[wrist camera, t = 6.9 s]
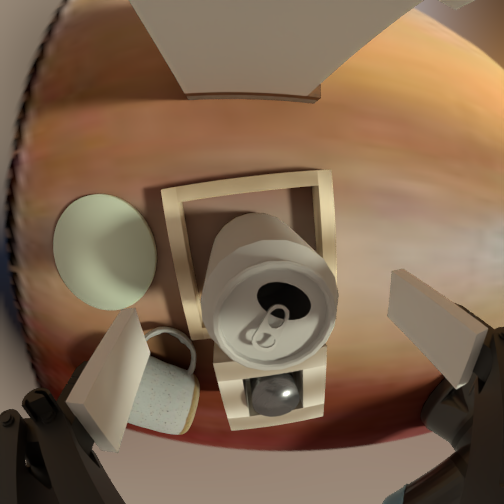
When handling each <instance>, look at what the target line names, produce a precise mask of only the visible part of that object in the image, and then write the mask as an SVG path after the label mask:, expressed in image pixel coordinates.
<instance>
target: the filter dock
mask: <svg viewBox="0 0 504 504" xmlns="http://www.w3.org/2000/svg"><path fill="white" fill-rule="evenodd" d="M305 186H312V196H313V208H314V222H315V238H316V252H317V253H318V254H319V255H320V256H321V257H322V258H323V259H324V260H325V262H326V263H327V265H328V266H329V268H330V270H331V271H332V273H333V274H334V276H335V280H336V285H337V263H336V231H335V211H334V196H333V183H332V171H331V169H328V170H309V171H296V172H285V173H274V174H264V175H255V176H246V177H238V178H230V179H223V180H215V181H208V182H202V183H195V184H189V185H183V186H177V187H171V188H165V189H161V195H162V201H163V208H164V214H165V220H166V226H167V231H168V237H169V242H170V248H171V253H172V258H173V263H174V268H175V273H176V277H177V282H178V287H179V291H180V295H181V300H182V304H183V308H184V312H185V317H186V321H187V325H188V329H189V333H190V336H191V340H201V339H211V337H210V335H209V333H208V331H207V329H206V327H205V325H204V323H203V320H202V311H201V303H200V298H199V293H198V288H197V283H196V278H195V273H194V268H193V262H192V257H191V251H190V246H189V240H188V234H187V228H186V222H185V215H184V209H183V202H184V201H190V200H196V199H203V198H210V197H217V196H225V195H232V194H240V193H248V192H256V191H265V190H274V189H284V188H294V187H305ZM335 320H336V319H335ZM326 359H327V345H326V344H324V345H323V346H322V347H321V348H320V349H319V350H318V351H317V352H316V353H315V354H314V355H313V356H311V357H310V358H308V359H306V360H305V361H303V362H302V363H300V364H298V365H295V366H291V367H288V368H285V369H282V370H267V371H263V370H258V369H253V368H248V367H245V366H243V365H241V364H239V363H237V362H235V361H233V360H232V359H230V358H229V357H228V356H227V355H226V354H225V353H224V352H223V351H222V350H221V349H220V348H219V346H218V344H217V343H216V342H214V356H213V365H214V369H215V373H216V377H217V381H218V385H219V388H220V392H221V396H222V400H223V403H224V407H225V410H226V414H227V417H228V421H229V424H230V428H231V431H232V430H243V429H252V428H260V427H267V426H274V425H280V424H286V423H292V422H297V421H302V420H307V419H312V418H317V417H321V416H323V411H324V397H325V381H326ZM288 372H292V374H293V377H294V380H295V383H296V387H297V390H298V393H299V396H300V400H299V403H298V405H297V406H296V408H295V409H293V410H292V411H291V412H289V413H287V414H284V415H281V416H276V417H268V416H263V415H261V414H259V413H257V412H256V411H255V410H254V408H253V405H252V396H251V387H250V378H255V377H262V376H269V375H276V374H282V373H288Z"/></svg>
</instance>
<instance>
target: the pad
mask: <svg viewBox="0 0 504 504" xmlns="http://www.w3.org/2000/svg"><path fill="white" fill-rule="evenodd" d="M53 251H54V258H55V263H56V266H57V269H58V271H59V274H60V276H61V278H62V279H63V281H64V283H65V284H66V286H67V287H68V288H69V289H70V291H71V292H72V293H73V294H74V295H75V296H77V297H78V298H79V299H80V300H82V301H83V302H85V303H86V304H88V305H90V306H93V307H95V308H99V309H103V310H119V309H123V308H126V307H129V306H131V305H133V304H134V303H135V302H137V301H138V300H139V299H140V298H141V297H142V296H143V295H144V294H145V292H146V291H147V289H148V288H149V286H150V284H151V283H152V280H153V278H154V275H155V271H156V265H157V250H156V244H155V240H154V236H153V234H152V231H151V229H150V227H149V225H148V223H147V222H146V220H145V219H144V217H143V216H142V215H141V214H140V212H139V211H138V210H137V209H136V208H135V207H133V206H132V205H131V204H130V203H128V202H127V201H125V200H123V199H121V198H119V197H117V196H113V195H109V194H94V195H88V196H85V197H82V198H80V199H78V200H76V201H74V202H73V203H72V204H70V205H69V206H68V207H67V208H66V209H65V211H64V212H63V214H62V215H61V217H60V219H59V220H58V223H57V225H56V228H55V233H54V239H53Z"/></svg>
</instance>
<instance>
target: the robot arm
mask: <svg viewBox="0 0 504 504" xmlns="http://www.w3.org/2000/svg"><path fill="white" fill-rule="evenodd" d="M387 316H388V317H389V318H390V319H391V320H392V321H393V322H394V323H395V325H396V326H397V327H398V328H399V329H400V330H401V331H402V332H403V333H404V334H405V335H406V336H407V337H408V338H409V339H410V340H411V341H412V342H413V343H414V344H415V345H416V346H417V347H418V348H419V349H420V351H421V352H422V353H423V354H424V355H425V356H426V357H427V358H428V359H429V360H430V361H431V362H432V363H433V364H434V366H435V367H436V368H437V369H438V370H439V371H440V372H441V373H442V374H443V375H444V377H445V379H444V380H443V381H442V382H441V383H440V384H439V385H438V386H437V387H436V389H435V390H434V391H433V392H432V394H431V395H430V396H429V398H428V399H427V401H426V403H425V405H424V406H423V409H422V412H421V420H422V422H423V423H424V425H425V426H426V428H427V429H429V430H431V431H433V432H434V433H436V434H438V435H439V436H440V437H442V438H443V439H445V440H446V441H448V442H449V443H450V444H451V445H452V447H453V448H454V450H455V451H456V452H455V453H453V454H452V455H451V456H450V457H448V458H447V459H445V460H444V461H443V462H441V463H440V464H439V465H437V466H436V467H434V468H433V469H431V470H430V471H429V472H427V473H426V474H424V475H422V476H421V477H420V478H418V479H416V480H415V481H413V482H411V483H410V484H406V485H404V487H403V488H401V489H399V490H398V491H396V492H394V493H393V494H391V495H389V496H388V497H387V498H386V499H385V500H384V501H383V503H382V504H504V327H499V328H496V329H493V328H492V327H491V326H489V325H488V324H487V323H485V322H484V321H483V320H481V319H480V318H479V317H477V316H475V315H474V314H473V313H472V312H470V311H469V310H467V309H466V308H465V307H463V306H461V305H459V304H456V303H453V302H452V301H450V300H449V299H447V298H446V297H445V296H443V295H442V294H440V293H439V292H437V291H436V290H434V289H433V288H432V287H430V286H429V285H427V284H426V283H424V282H423V281H421V280H420V279H418V278H417V277H415V276H414V275H412V274H410V273H409V272H407V271H406V270H404V269H399V270H394V271H392V274H391V287H390V297H389V307H388V315H387ZM149 355H150V351H149V348H148V345H147V342H146V339H145V337H144V334H143V331H142V328H141V325H140V322H139V318H138V315H137V312H136V309H135V308H130V309H122V310H121V311H120V313H119V314H118V316H117V317H116V319H115V320H114V322H113V323H112V325H111V326H110V328H109V329H108V331H107V332H106V334H105V336H104V337H103V339H102V340H101V342H100V344H99V345H98V347H97V348H96V350H95V352H94V353H93V355H92V357H91V358H90V360H89V361H84V362H83V363H82V364H81V365H79V366H78V367H77V368H76V369H75V371H74V373H73V374H72V376H71V377H72V378H70V379H69V381H68V382H67V383H68V384H66V386H65V388H64V389H63V391H62V393H61V394H60V396H59V398H58V400H57V401H55V399H54V397H53V396H52V394H51V393H50V391H49V390H48V389H46V388H37V389H34V390H32V391H31V392H29V393H28V394H27V395H26V396H25V397H24V399H23V401H22V407H23V408H24V409H25V410H26V412H27V414H28V415H29V416H30V418H25V419H23V418H22V417H21V415H20V414H19V413H18V411H16V410H14V409H9V410H6V411H4V412H2V413H1V415H0V504H125V502H124V501H123V499H122V498H121V496H120V495H119V493H118V491H117V490H116V488H115V487H114V485H113V484H112V482H111V480H110V479H109V477H108V475H107V473H106V472H105V470H104V468H103V466H102V465H101V463H100V461H99V459H98V457H97V455H96V454H95V453H94V451H93V450H92V446H93V444H94V442H95V443H96V445H97V446H98V447H99V448H100V449H101V450H102V451H109V452H116V453H118V452H119V449H120V445H121V442H122V438H123V434H124V431H125V428H126V425H127V421H128V418H129V415H130V412H131V409H132V405H133V402H134V399H135V396H136V393H137V390H138V387H139V384H140V381H141V378H142V375H143V372H144V369H145V367H146V364H147V361H148V358H149ZM25 460H26V463H25Z"/></svg>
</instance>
